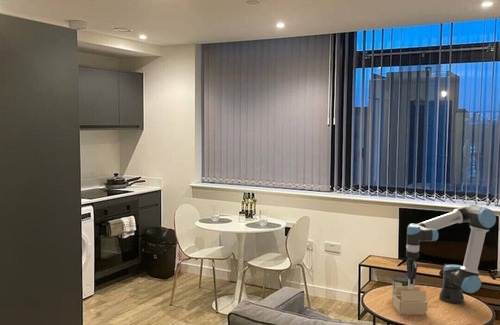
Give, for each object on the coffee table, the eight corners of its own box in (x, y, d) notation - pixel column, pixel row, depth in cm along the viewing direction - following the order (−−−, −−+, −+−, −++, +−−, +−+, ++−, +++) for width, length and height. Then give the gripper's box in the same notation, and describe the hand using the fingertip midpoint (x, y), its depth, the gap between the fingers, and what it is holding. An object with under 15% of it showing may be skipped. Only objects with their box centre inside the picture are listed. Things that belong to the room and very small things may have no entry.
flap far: (418, 294, 312) (418, 294, 313) (420, 286, 310) (420, 286, 310) (394, 294, 312) (394, 293, 312) (396, 286, 309) (396, 286, 310)
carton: (419, 307, 313) (420, 295, 313) (427, 315, 301) (427, 302, 301) (392, 307, 313) (393, 295, 312) (399, 314, 301) (399, 301, 300)
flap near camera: (425, 290, 303) (425, 290, 302) (426, 301, 301) (426, 301, 301) (400, 290, 302) (400, 290, 302) (401, 300, 300) (401, 300, 300)
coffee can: (407, 297, 331) (408, 277, 330) (409, 303, 321) (410, 281, 320) (391, 296, 333) (392, 275, 332) (392, 301, 323) (393, 280, 322)
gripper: (402, 248, 310) (400, 285, 312) (410, 253, 297) (408, 292, 299) (414, 248, 311) (412, 285, 313) (422, 253, 298) (420, 292, 300)
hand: (410, 288), depth 306 cm, fingers closed
